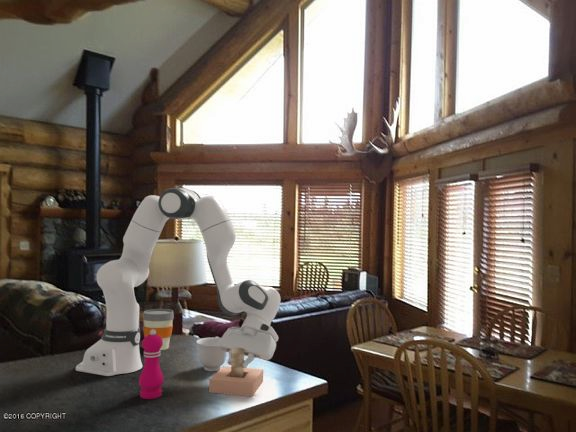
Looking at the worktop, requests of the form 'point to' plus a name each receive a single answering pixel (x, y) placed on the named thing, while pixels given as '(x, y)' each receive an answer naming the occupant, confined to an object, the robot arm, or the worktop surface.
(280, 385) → the worktop surface
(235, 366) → the maple pin
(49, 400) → the worktop surface
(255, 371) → the socket block
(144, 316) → the reusable coffee cup
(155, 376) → the pepper mill
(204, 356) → the teacup
